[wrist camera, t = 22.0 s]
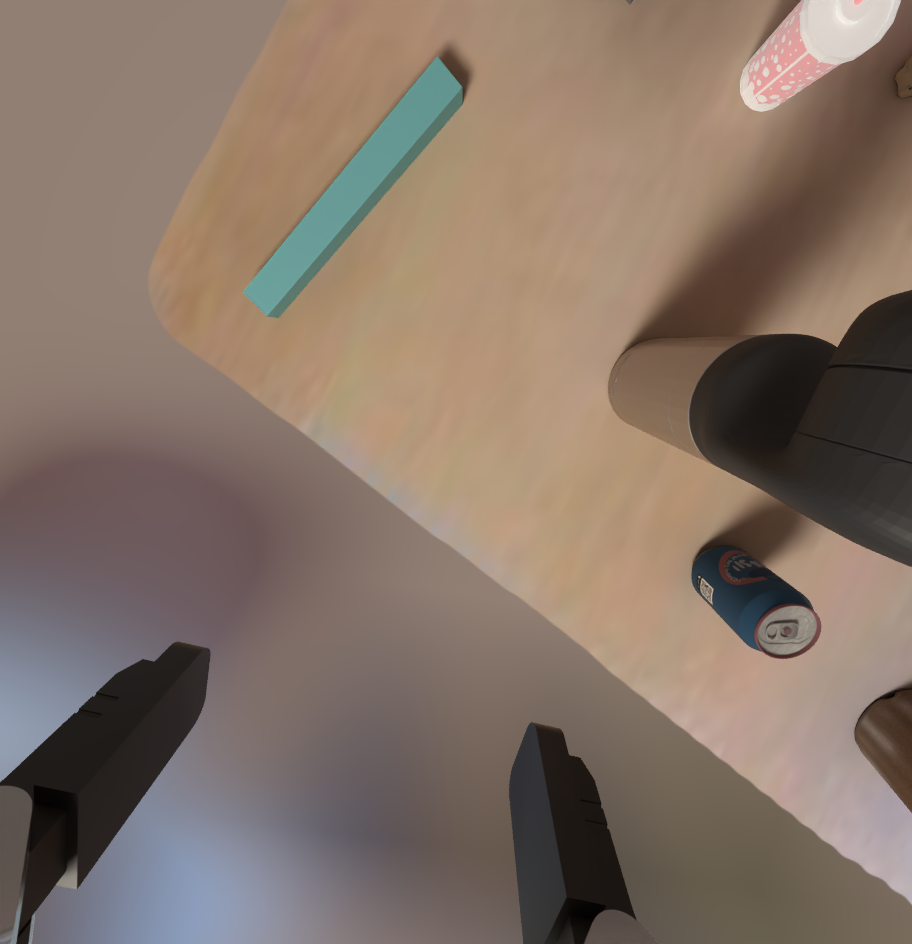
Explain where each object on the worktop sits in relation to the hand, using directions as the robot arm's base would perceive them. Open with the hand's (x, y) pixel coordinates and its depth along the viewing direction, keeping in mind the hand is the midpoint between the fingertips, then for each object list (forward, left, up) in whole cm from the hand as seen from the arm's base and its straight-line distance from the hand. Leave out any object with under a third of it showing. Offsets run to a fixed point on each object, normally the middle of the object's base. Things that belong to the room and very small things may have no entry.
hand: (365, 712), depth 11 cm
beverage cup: (-20, -37, -38) cm, 57 cm away
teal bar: (+14, -19, -38) cm, 45 cm away
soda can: (-35, +8, -38) cm, 52 cm away
